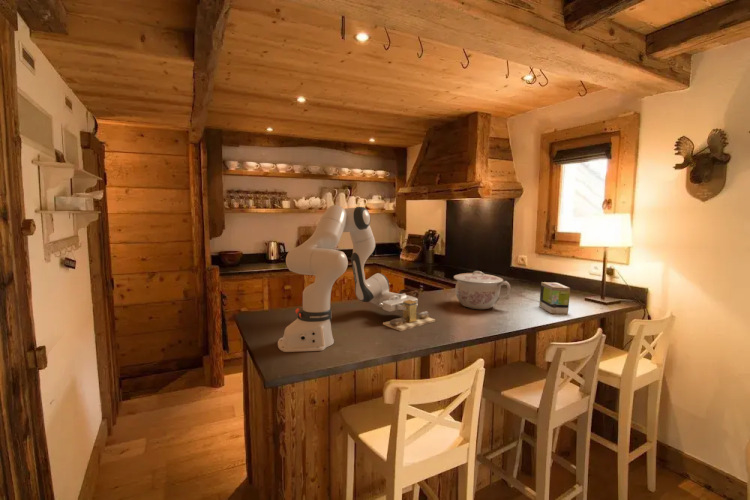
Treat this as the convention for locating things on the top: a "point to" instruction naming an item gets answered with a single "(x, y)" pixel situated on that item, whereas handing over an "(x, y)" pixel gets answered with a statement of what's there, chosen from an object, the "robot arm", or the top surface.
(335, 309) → the top surface
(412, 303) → the pale yellow tall box
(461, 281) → the chamber pot
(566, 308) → the tea box
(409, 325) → the beige bumpy flat tray
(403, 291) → the mug
